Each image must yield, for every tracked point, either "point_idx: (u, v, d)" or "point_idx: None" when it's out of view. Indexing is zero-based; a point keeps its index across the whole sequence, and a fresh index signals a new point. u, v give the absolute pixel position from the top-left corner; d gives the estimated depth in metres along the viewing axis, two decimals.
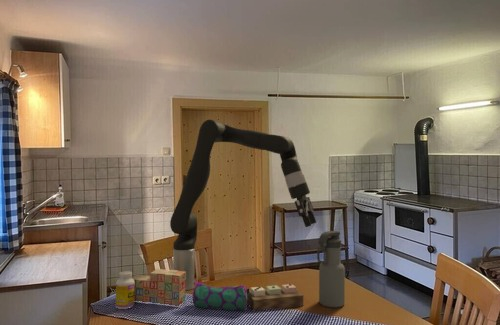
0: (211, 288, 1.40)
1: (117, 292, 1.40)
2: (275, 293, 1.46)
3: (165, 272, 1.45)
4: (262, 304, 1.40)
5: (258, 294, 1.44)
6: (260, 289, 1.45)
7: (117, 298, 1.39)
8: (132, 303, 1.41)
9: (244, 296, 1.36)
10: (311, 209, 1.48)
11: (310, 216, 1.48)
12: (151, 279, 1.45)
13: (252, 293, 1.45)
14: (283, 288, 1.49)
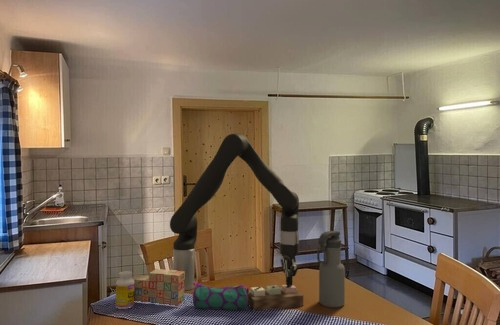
0: (211, 288, 1.40)
1: (117, 292, 1.40)
2: (275, 293, 1.46)
3: (164, 272, 1.45)
4: (262, 304, 1.40)
5: (258, 294, 1.44)
6: (260, 289, 1.45)
7: (117, 298, 1.39)
8: (132, 303, 1.41)
9: (245, 295, 1.37)
10: None
11: None
12: (150, 279, 1.45)
13: (252, 293, 1.45)
14: (283, 288, 1.49)
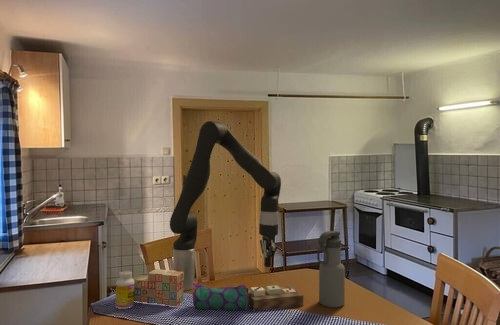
0: (211, 289, 1.40)
1: (117, 292, 1.40)
2: (275, 293, 1.46)
3: (162, 273, 1.45)
4: (262, 304, 1.40)
5: (258, 294, 1.44)
6: (260, 289, 1.45)
7: (117, 298, 1.39)
8: (132, 303, 1.41)
9: (246, 295, 1.37)
10: None
11: None
12: (149, 279, 1.45)
13: (252, 293, 1.45)
14: None
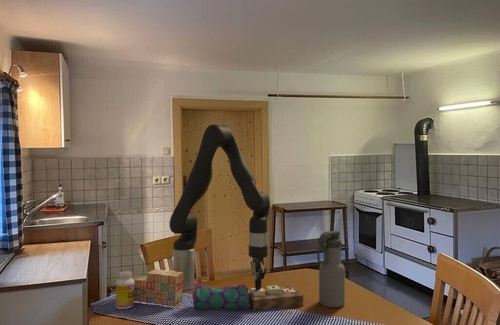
0: (212, 289, 1.40)
1: (117, 292, 1.40)
2: (275, 293, 1.46)
3: (161, 273, 1.45)
4: (262, 304, 1.40)
5: (258, 295, 1.44)
6: (260, 290, 1.45)
7: (117, 298, 1.39)
8: (132, 303, 1.41)
9: (246, 294, 1.38)
10: None
11: None
12: (148, 279, 1.44)
13: (252, 294, 1.45)
14: None
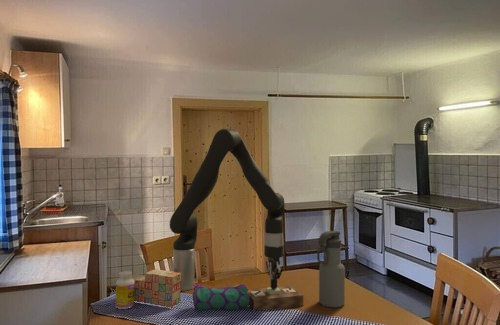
0: (212, 289, 1.39)
1: (117, 292, 1.40)
2: None
3: (159, 273, 1.44)
4: (262, 304, 1.40)
5: None
6: (260, 293, 1.45)
7: (117, 298, 1.39)
8: (132, 303, 1.41)
9: (247, 294, 1.38)
10: None
11: None
12: (146, 279, 1.44)
13: None
14: None
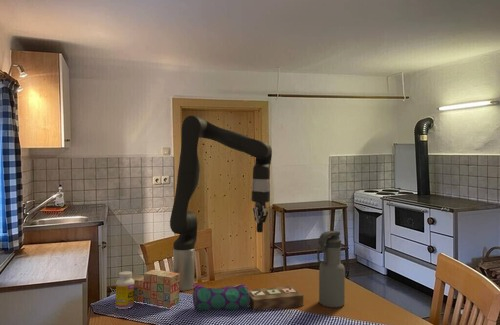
0: (212, 289, 1.39)
1: (117, 292, 1.40)
2: None
3: (158, 273, 1.44)
4: (262, 304, 1.40)
5: None
6: (260, 293, 1.45)
7: (117, 298, 1.39)
8: (132, 303, 1.41)
9: (247, 294, 1.38)
10: None
11: None
12: (145, 279, 1.44)
13: None
14: None
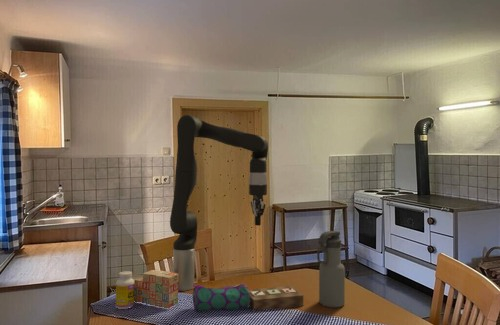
0: (212, 289, 1.39)
1: (117, 292, 1.40)
2: None
3: (157, 274, 1.44)
4: (262, 304, 1.40)
5: None
6: (260, 293, 1.45)
7: (117, 298, 1.39)
8: (132, 303, 1.41)
9: (248, 294, 1.39)
10: None
11: None
12: (144, 279, 1.44)
13: None
14: None
